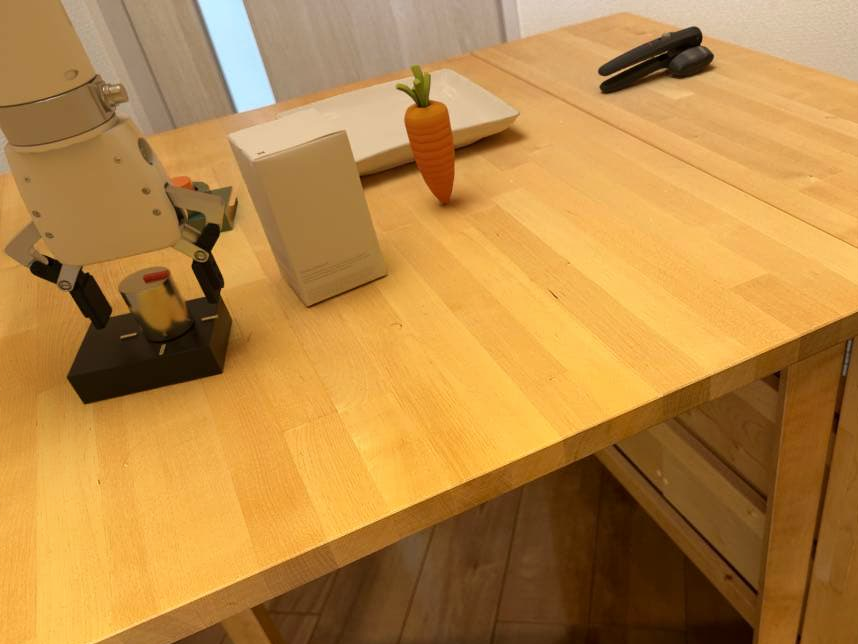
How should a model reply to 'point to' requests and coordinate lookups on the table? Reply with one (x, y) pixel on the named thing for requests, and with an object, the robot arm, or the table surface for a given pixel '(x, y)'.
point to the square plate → (385, 109)
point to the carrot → (430, 136)
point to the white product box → (310, 203)
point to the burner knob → (156, 303)
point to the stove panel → (149, 354)
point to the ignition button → (183, 182)
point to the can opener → (658, 58)
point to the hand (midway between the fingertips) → (161, 308)
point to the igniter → (199, 219)
